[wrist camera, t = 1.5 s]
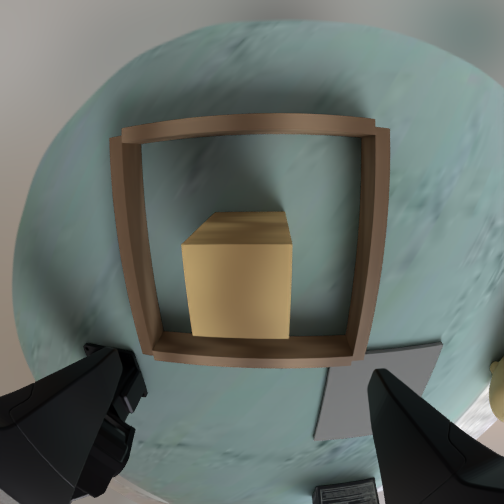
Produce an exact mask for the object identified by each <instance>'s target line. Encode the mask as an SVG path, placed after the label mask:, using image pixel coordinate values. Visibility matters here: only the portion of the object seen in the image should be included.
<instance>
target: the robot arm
mask: <svg viewBox="0 0 504 504" xmlns="http://www.w3.org/2000/svg"><path fill="white" fill-rule="evenodd" d="M84 350H85V353H86V355H87V357H85V358H83V359H81V360H79V361H77V362H75V363H73V364H71V365H69V366H67V367H65V368H63V369H61V370H59V371H57V372H55V373H53V374H51V375H49V376H46V377H44V378H42V379H40V380H38V381H36V382H35V383H32V384H30V385H28V386H26V387H23V388H21V389H19V390H17V391H14V392H12V393H9V394H6V395H4V396H1V397H0V504H71V502H72V501H74V500H77V499H81V498H83V497H86V496H89V495H91V496H93V497H94V498H95V497H98V496H100V495H102V494H104V492H105V491H106V489H107V487H108V485H109V483H110V481H111V479H112V477H115V476H117V475H118V474H119V473H120V472H121V471H122V470H123V468H124V467H125V465H126V464H127V461H128V459H129V456H130V451H131V447H132V442H133V438H134V433H135V428H134V427H132V426H129V425H128V424H127V423H125V420H126V418H127V416H128V414H129V413H133V412H134V411H135V409H136V407H137V405H138V403H139V401H140V399H141V397H146V396H147V394H148V392H147V389H146V385H145V382H144V380H143V377H142V374H141V371H140V369H139V366H138V363H137V360H136V357H135V354H134V353H133V352H132V351H128V350H122V349H116V348H111V347H104V346H99V345H94V344H89V343H86V344H85V345H84ZM129 355H130V356H129ZM367 394H368V402H369V412H370V422H371V429H372V434H373V439H374V443H375V448H376V453H377V458H378V463H379V468H380V474H381V479H382V485H383V491H384V498H385V504H504V457H503V456H501V455H499V454H497V453H496V452H494V451H492V450H491V449H489V448H488V447H486V446H484V445H483V444H481V443H480V442H478V441H476V440H475V439H474V438H472V437H471V436H469V435H468V434H466V433H465V432H464V431H462V430H461V429H460V428H459V427H457V426H456V425H455V424H454V423H452V422H450V420H449V419H447V418H446V417H445V416H444V415H442V414H441V413H440V412H439V411H438V410H436V409H435V408H434V407H433V406H431V405H430V404H429V403H428V402H426V401H425V400H424V399H423V398H422V397H420V396H419V395H418V394H417V393H415V392H414V391H413V390H412V389H411V388H409V387H408V386H407V385H406V384H404V383H403V382H402V381H401V380H400V379H398V378H397V377H396V376H395V375H394V374H392V373H391V372H390V371H389V370H387V369H386V368H378V369H375V370H374V371H373V373H372V376H371V378H370V381H369V383H368V387H367Z"/></svg>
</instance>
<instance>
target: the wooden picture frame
mask: <svg viewBox="0 0 504 504" xmlns="http://www.w3.org/2000/svg"><path fill="white" fill-rule="evenodd" d="M246 134H310V135H332V136H347V137H359V138H361V194H360V214H359V229H358V242H357V253H356V263H355V272H354V280H353V288H352V296H351V303H350V310H349V316H348V322H347V328H346V334H345V335H332V336H289V339H253V338H224V337H205V336H193V334H192V333H180V332H168V331H164V330H163V325H162V320H161V315H160V310H159V304H158V299H157V293H156V287H155V281H154V275H153V268H152V262H151V254H150V247H149V239H148V231H147V221H146V212H145V201H144V188H143V173H142V154H141V144H144V143H151V142H159V141H167V140H176V139H185V138H196V137H209V136H224V135H246ZM109 141H110V165H111V180H112V193H113V203H114V212H115V221H116V228H117V236H118V242H119V249H120V255H121V261H122V267H123V272H124V278H125V283H126V288H127V292H128V297H129V302H130V306H131V310H132V315H133V319H134V323H135V327H136V331H137V335H138V338H139V342H140V346H141V349H142V353H143V354H146V355H153V356H154V359H155V360H158V361H166V362H175V363H184V364H195V365H207V366H222V367H241V368H319V367H339V366H351V362H352V361H359V360H364V356H365V352H366V348H367V344H368V340H369V335H370V331H371V326H372V321H373V316H374V311H375V306H376V301H377V295H378V289H379V283H380V277H381V270H382V263H383V255H384V247H385V238H386V227H387V216H388V202H389V182H390V129H388V128H380V127H375V119H370V118H361V117H351V116H339V115H324V114H301V113H255V114H231V115H216V116H204V117H194V118H185V119H176V120H169V121H162V122H155V123H149V124H143V125H137V126H131V127H126V128H122V136H117V137H112V138H109Z"/></svg>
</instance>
